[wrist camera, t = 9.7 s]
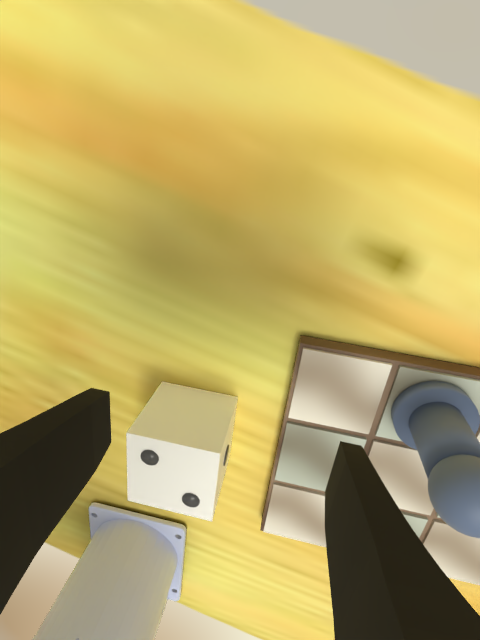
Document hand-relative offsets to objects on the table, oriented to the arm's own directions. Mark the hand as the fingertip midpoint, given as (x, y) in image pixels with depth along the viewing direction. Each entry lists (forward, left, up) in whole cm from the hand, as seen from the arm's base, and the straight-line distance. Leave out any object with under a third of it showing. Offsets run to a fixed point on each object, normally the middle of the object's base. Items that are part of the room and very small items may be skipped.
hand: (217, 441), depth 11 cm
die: (-8, +3, -10) cm, 13 cm away
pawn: (-3, -10, -9) cm, 14 cm away
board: (-8, -10, -10) cm, 16 cm away
